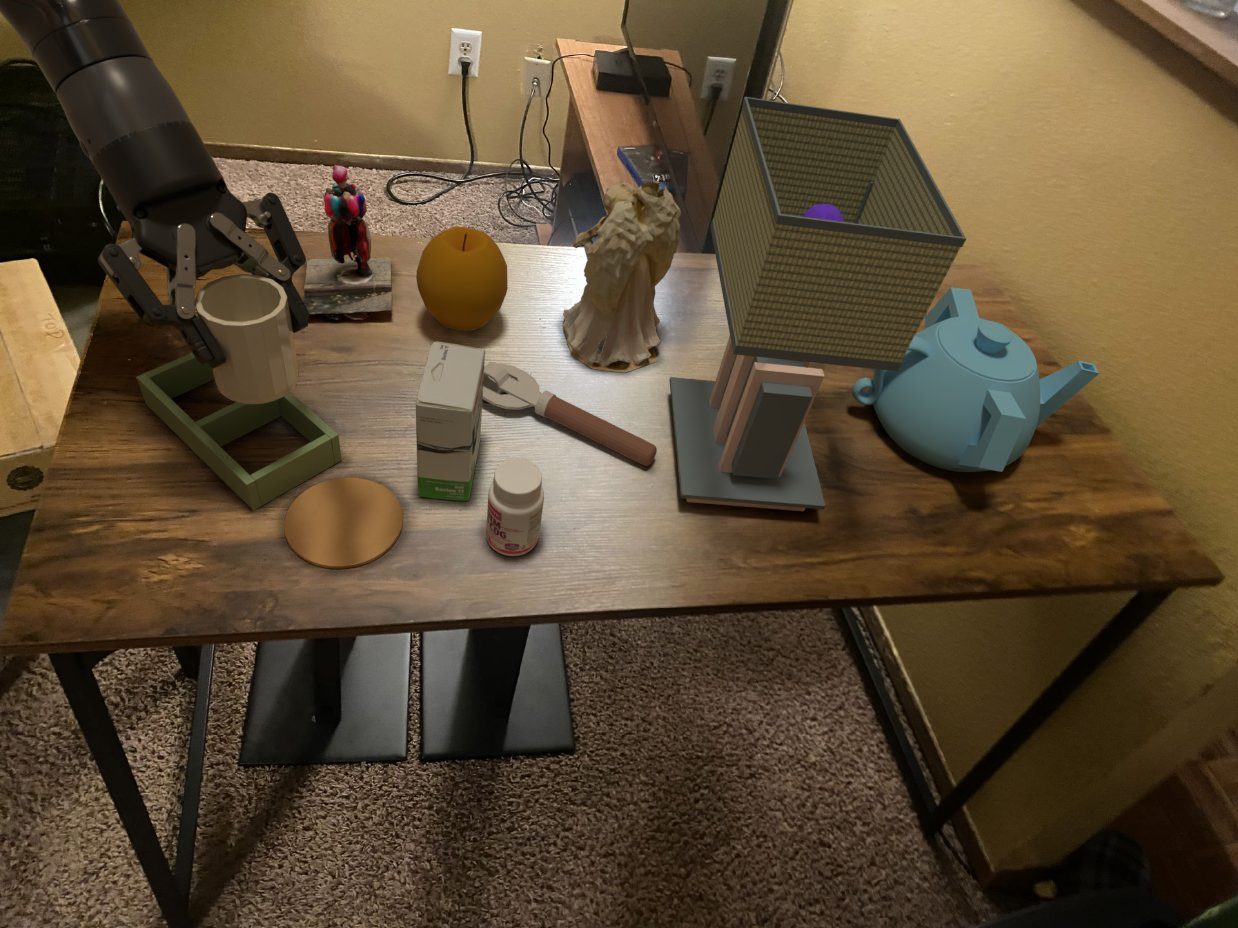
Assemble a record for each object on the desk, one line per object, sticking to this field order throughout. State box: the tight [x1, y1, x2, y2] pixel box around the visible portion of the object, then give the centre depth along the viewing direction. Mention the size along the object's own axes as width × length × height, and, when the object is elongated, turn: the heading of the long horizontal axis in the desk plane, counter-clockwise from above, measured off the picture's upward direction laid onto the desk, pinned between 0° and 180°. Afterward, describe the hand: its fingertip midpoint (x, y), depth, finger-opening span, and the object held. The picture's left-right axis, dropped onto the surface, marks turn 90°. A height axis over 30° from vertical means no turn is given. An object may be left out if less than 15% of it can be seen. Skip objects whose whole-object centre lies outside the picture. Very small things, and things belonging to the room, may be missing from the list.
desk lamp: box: [669, 96, 967, 512], centre depth 75 cm, size 18×14×33 cm
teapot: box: [851, 286, 1100, 473], centre depth 91 cm, size 19×19×14 cm
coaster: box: [283, 476, 404, 570], centre depth 74 cm, size 10×10×1 cm
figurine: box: [562, 180, 682, 374], centre depth 90 cm, size 12×12×20 cm
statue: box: [303, 164, 393, 321], centre depth 91 cm, size 11×9×15 cm
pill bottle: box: [485, 457, 545, 557], centre depth 72 cm, size 5×5×8 cm
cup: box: [195, 273, 300, 404], centre depth 66 cm, size 6×6×8 cm
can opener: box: [482, 361, 658, 467], centre depth 86 cm, size 20×6×3 cm, turn 68°
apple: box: [415, 226, 509, 331], centre depth 91 cm, size 10×10×12 cm
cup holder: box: [136, 352, 343, 511], centre depth 78 cm, size 18×9×4 cm, turn 49°
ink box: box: [415, 341, 486, 502], centre depth 76 cm, size 9×5×12 cm, turn 179°
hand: (261, 346), depth 65 cm, fingers closed on cup, 6 cm apart
